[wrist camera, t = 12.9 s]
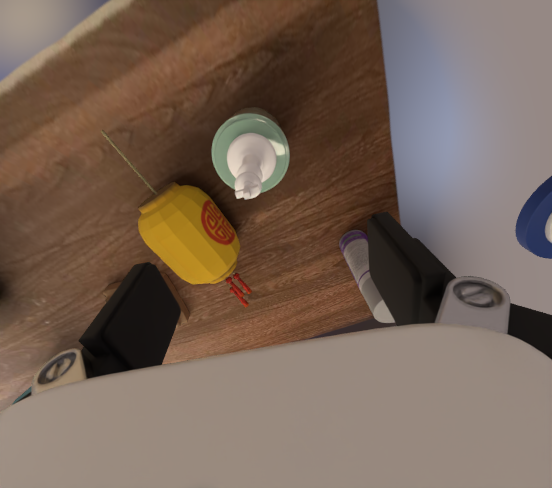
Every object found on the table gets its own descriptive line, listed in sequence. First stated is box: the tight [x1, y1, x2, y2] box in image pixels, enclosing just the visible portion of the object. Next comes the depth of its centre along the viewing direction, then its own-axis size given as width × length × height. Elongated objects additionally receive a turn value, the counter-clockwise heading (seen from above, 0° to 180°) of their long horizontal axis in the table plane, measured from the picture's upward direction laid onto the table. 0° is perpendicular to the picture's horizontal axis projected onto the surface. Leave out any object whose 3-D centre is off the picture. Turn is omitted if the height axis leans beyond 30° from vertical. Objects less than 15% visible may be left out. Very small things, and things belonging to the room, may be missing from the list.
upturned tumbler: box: [212, 107, 290, 193], centre depth 29 cm, size 8×8×9 cm
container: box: [339, 230, 395, 323], centre depth 36 cm, size 5×5×15 cm
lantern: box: [100, 130, 252, 307], centre depth 35 cm, size 10×10×30 cm
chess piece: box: [227, 133, 276, 200], centre depth 21 cm, size 5×5×10 cm
